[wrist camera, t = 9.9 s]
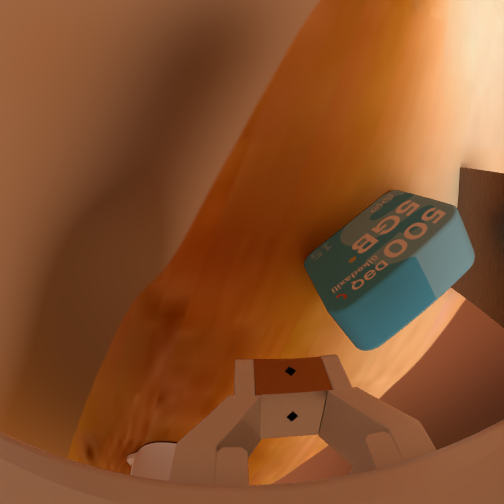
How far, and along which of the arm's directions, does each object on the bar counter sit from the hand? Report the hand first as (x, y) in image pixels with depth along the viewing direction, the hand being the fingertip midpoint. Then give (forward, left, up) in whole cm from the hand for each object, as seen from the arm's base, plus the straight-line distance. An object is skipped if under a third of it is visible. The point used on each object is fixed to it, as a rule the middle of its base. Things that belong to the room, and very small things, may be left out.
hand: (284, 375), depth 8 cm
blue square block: (-1, -10, -21) cm, 24 cm away
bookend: (0, -25, -21) cm, 33 cm away
